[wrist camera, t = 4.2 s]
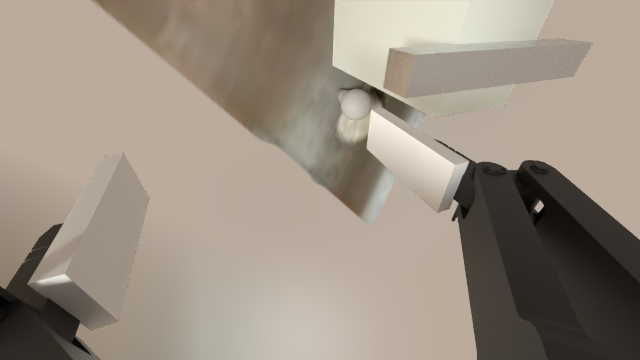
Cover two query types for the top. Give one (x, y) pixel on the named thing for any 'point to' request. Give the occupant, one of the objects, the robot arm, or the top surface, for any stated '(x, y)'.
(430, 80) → the rail
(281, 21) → the top surface
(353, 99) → the white rounded knobbed part
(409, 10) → the unit
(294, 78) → the top surface
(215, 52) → the top surface
